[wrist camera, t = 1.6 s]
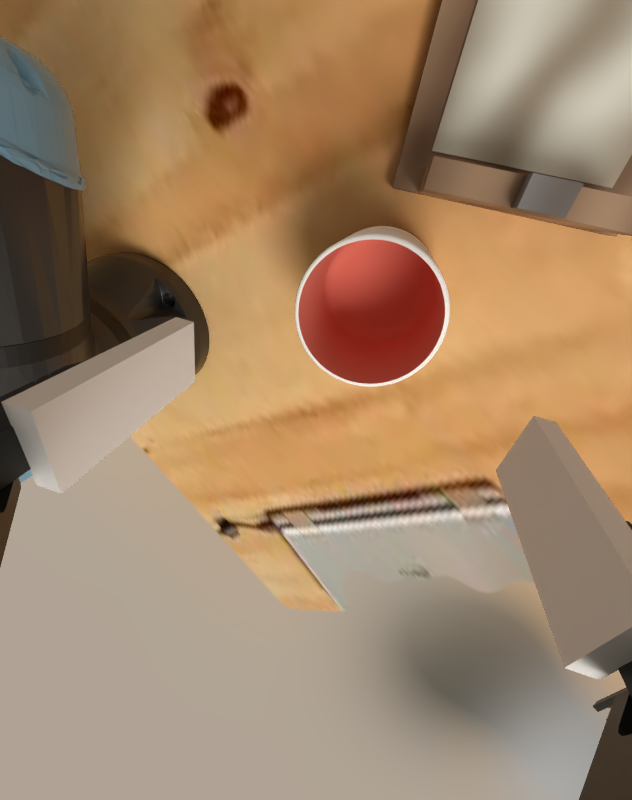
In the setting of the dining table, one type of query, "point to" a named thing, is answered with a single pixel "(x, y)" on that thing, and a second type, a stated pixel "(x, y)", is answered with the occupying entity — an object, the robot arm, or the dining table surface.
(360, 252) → the cup
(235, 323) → the dining table surface
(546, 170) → the holder
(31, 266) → the robot arm
